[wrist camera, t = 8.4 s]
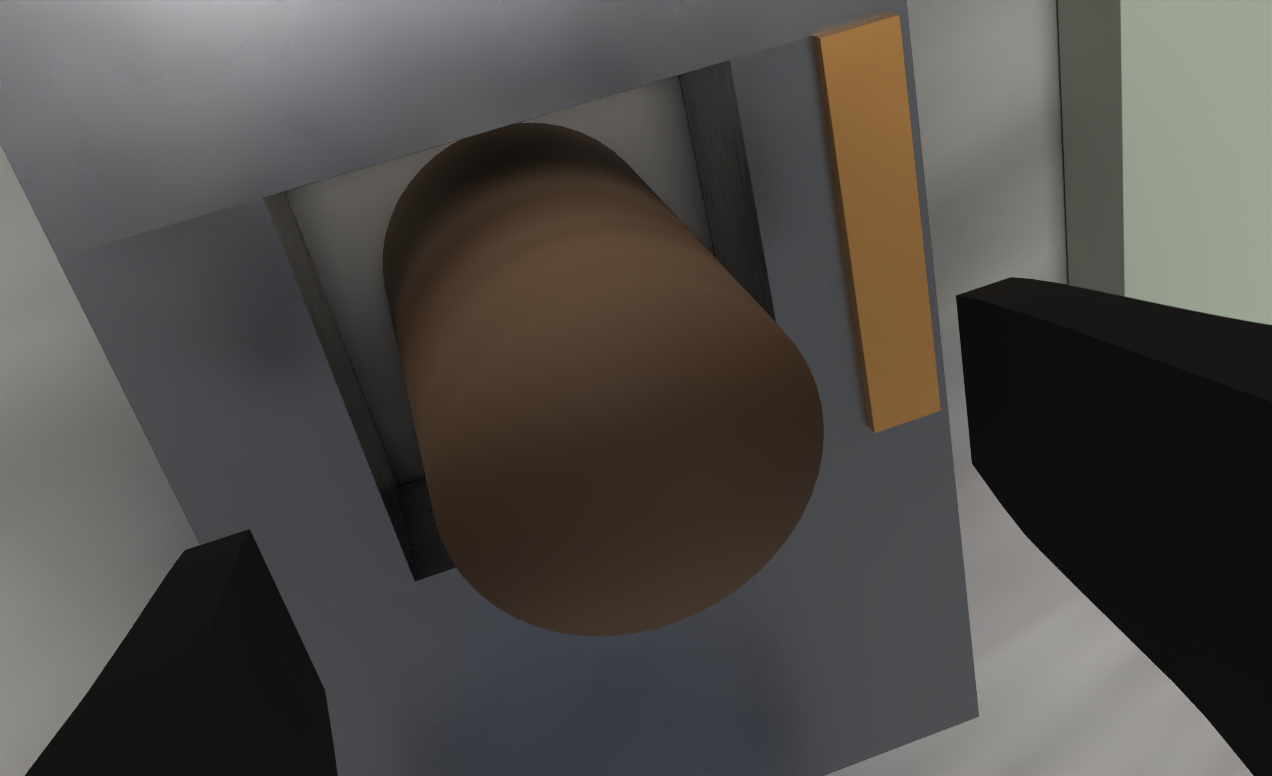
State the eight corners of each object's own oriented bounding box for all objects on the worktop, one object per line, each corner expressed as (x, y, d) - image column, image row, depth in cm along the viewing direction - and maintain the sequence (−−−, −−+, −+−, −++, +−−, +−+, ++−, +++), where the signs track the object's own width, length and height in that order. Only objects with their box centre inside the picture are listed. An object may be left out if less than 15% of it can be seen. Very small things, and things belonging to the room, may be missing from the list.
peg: (685, 341, 18) (847, 561, 13) (432, 424, 18) (496, 686, 12) (627, 86, 16) (792, 226, 11) (341, 171, 16) (373, 359, 11)
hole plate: (910, 625, 22) (984, 724, 20) (384, 818, 21) (397, 948, 18) (747, -594, 13) (847, -677, 11) (-183, -389, 12) (-297, -433, 10)
